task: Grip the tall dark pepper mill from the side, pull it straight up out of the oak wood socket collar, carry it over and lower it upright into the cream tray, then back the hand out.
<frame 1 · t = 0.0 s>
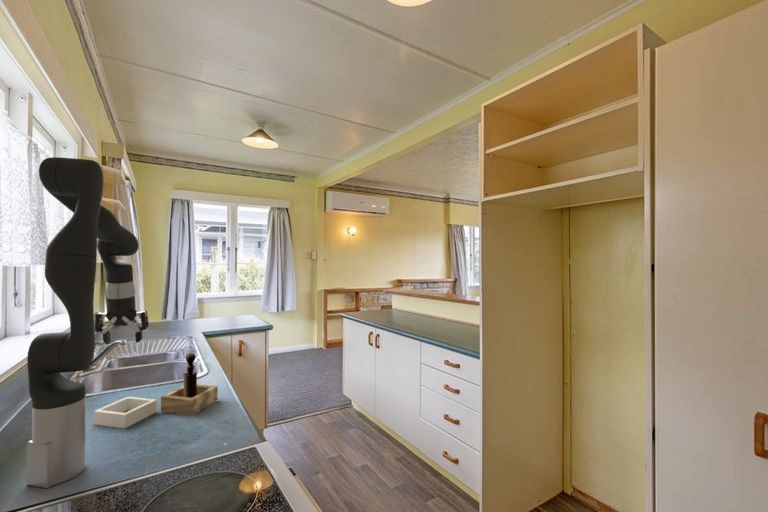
hand: (123, 342, 117), 22 cm above the worktop, tool pointing down, fingers open, 8 cm apart
tray: (126, 417, 111), on the worktop
dark pepper mill: (190, 406, 120), resting in socket
socket: (190, 405, 120), on the worktop
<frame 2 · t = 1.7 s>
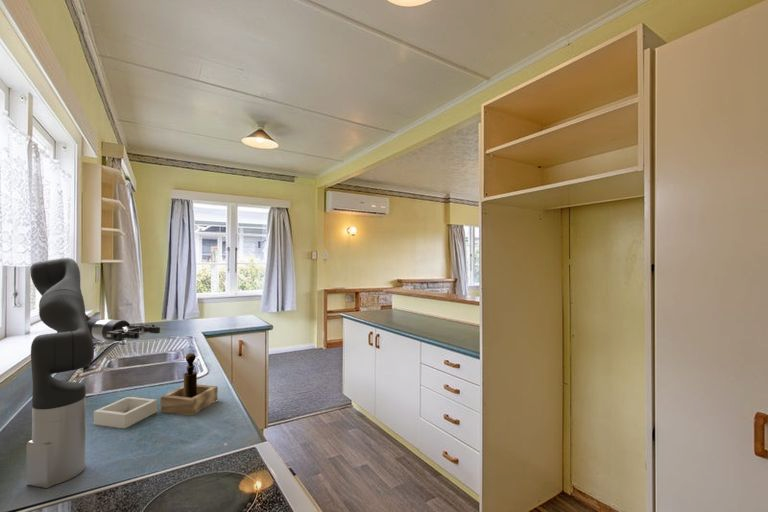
hand: (149, 332, 124), 24 cm above the worktop, tool horizontal, fingers open, 8 cm apart
nothing on the worktop moved.
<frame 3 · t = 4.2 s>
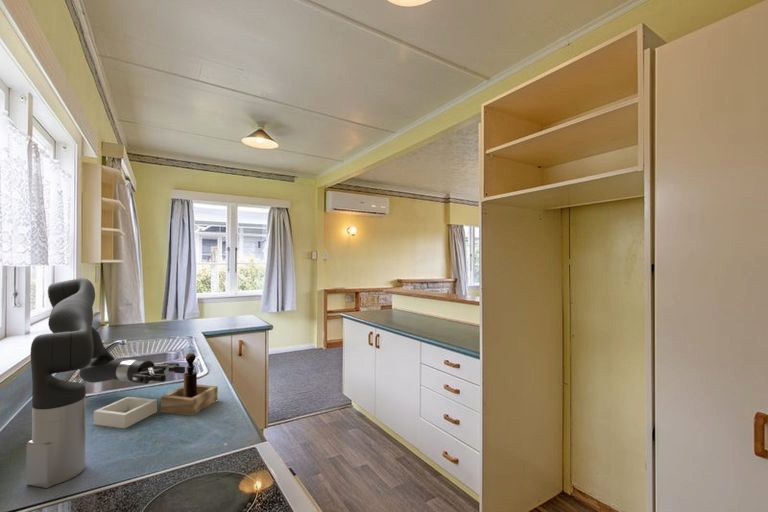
hand: (175, 374, 122), 10 cm above the worktop, tool horizontal, fingers open, 8 cm apart
nothing on the worktop moved.
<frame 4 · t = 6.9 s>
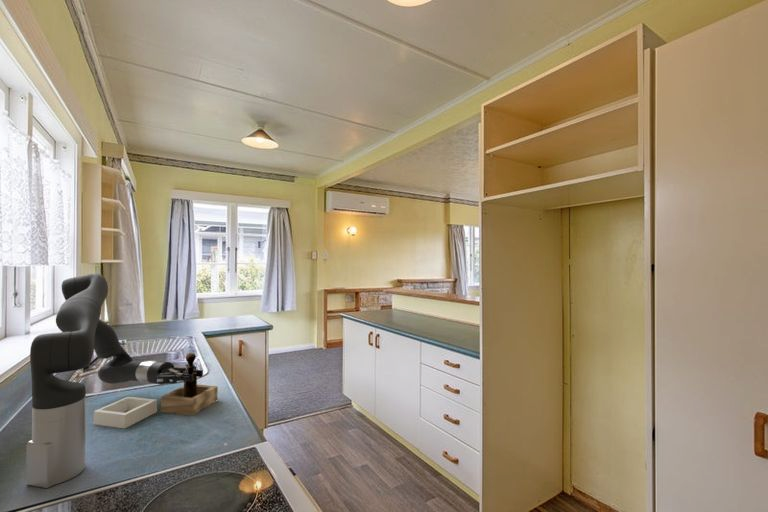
hand: (197, 375, 120), 11 cm above the worktop, tool horizontal, fingers closed on dark pepper mill, 3 cm apart
dark pepper mill: (190, 406, 120), resting in socket, touching gripper
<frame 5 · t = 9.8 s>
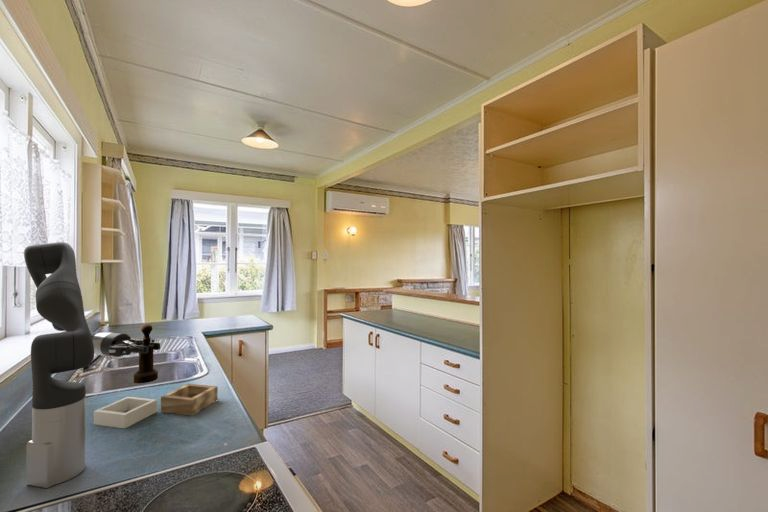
hand: (153, 348, 113), 22 cm above the worktop, tool horizontal, fingers closed on dark pepper mill, 3 cm apart
dark pepper mill: (145, 380, 114), point 11 cm above the worktop, touching gripper
when the fingers open (12 cm above the worktop, at t = 12.8 s): dark pepper mill drops 1 cm, resting in tray.
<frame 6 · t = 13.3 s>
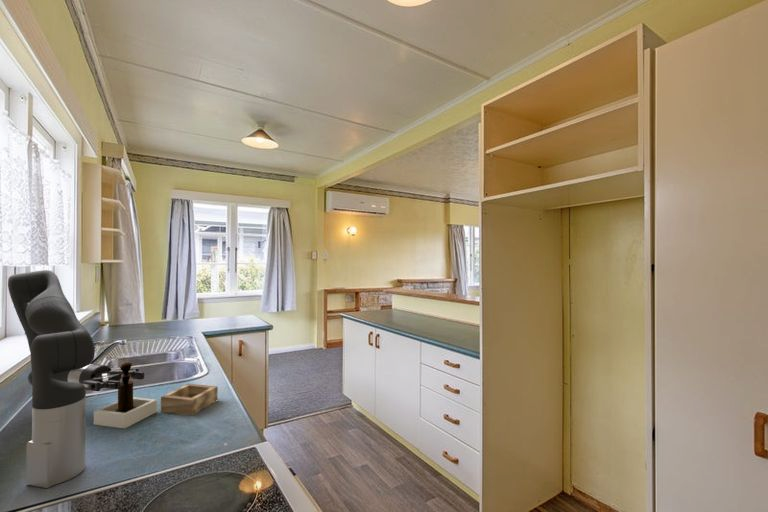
hand: (131, 380, 111), 12 cm above the worktop, tool horizontal, fingers open, 8 cm apart
dark pepper mill: (125, 418, 111), resting in tray
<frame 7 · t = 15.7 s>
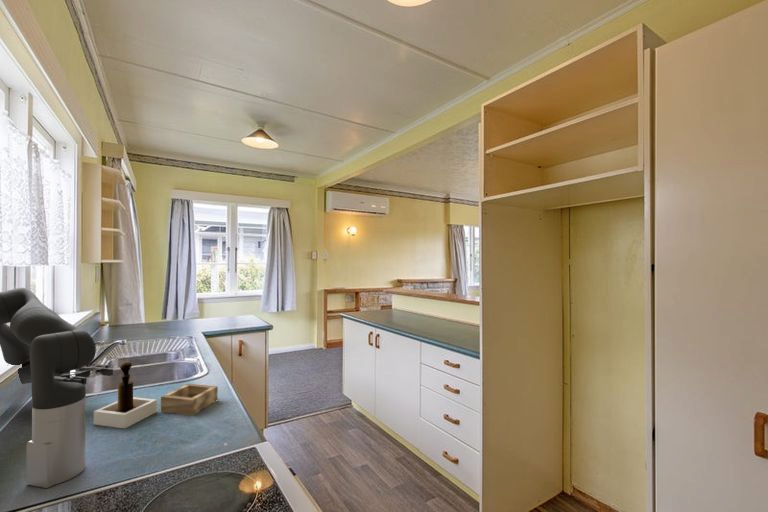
hand: (99, 376, 114), 12 cm above the worktop, tool horizontal, fingers open, 8 cm apart
nothing on the worktop moved.
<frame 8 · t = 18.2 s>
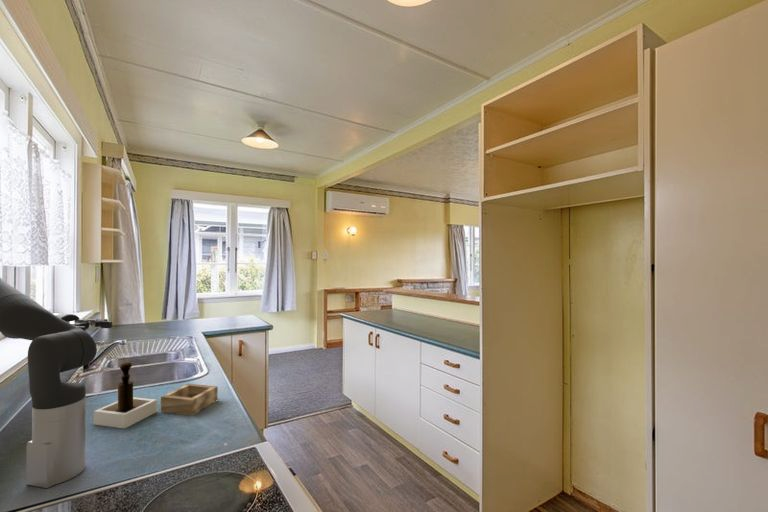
hand: (98, 327, 114), 28 cm above the worktop, tool horizontal, fingers open, 8 cm apart
nothing on the worktop moved.
at the end: dark pepper mill 0.2 cm off-centre on the tray, point 0.0 cm above the tray's base; dark pepper mill tilted 0°; the gripper is holding nothing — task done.
